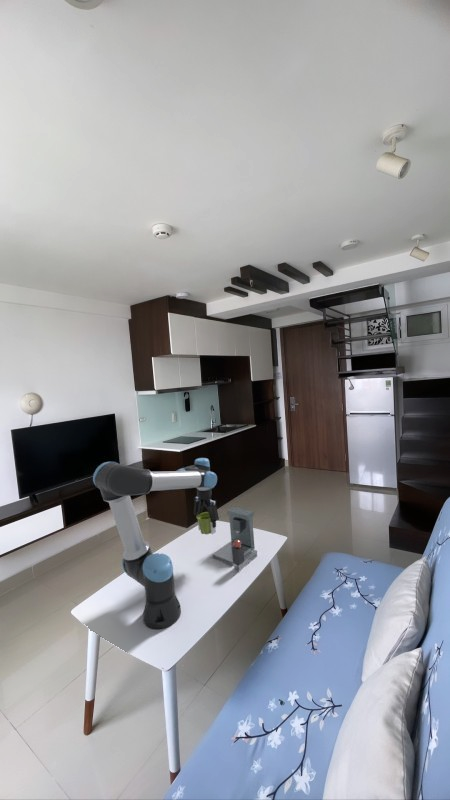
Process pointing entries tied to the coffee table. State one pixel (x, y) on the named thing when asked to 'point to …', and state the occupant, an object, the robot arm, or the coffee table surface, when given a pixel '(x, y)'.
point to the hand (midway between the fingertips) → (207, 531)
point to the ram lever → (237, 552)
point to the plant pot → (204, 522)
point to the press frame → (239, 538)
